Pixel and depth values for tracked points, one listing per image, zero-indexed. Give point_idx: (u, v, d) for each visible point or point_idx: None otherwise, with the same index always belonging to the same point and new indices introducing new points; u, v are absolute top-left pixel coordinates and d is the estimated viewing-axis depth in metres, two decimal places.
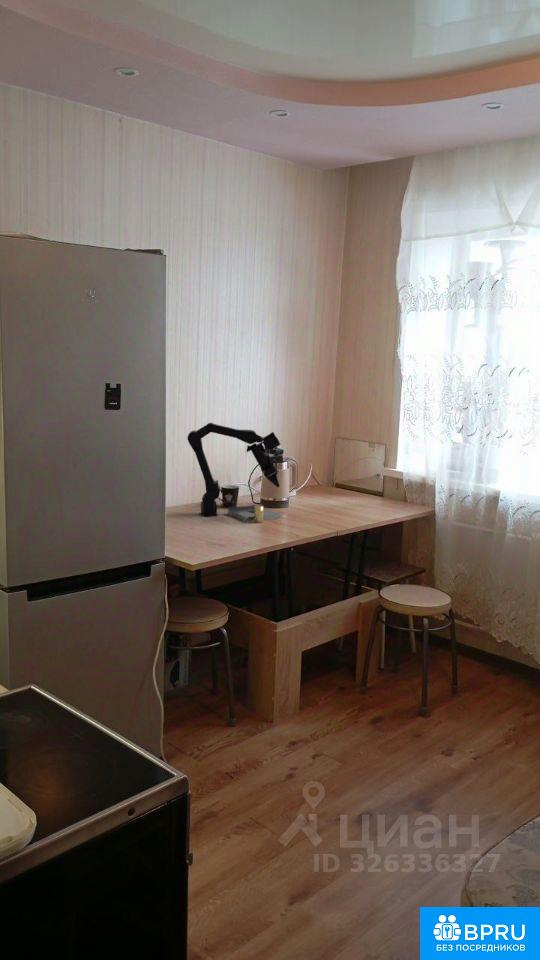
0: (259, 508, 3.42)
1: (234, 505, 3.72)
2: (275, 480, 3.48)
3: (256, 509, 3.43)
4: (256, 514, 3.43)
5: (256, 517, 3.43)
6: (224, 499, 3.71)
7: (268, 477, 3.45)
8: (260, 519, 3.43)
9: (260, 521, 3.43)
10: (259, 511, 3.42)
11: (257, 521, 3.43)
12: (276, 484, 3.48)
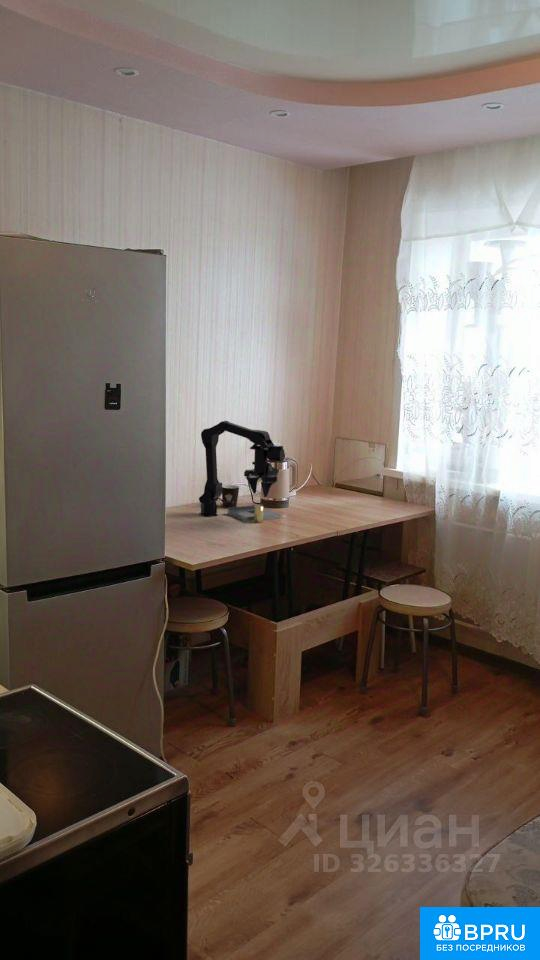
0: (259, 508, 3.42)
1: (234, 505, 3.72)
2: (267, 489, 3.38)
3: (256, 509, 3.43)
4: (256, 514, 3.43)
5: (256, 517, 3.43)
6: (224, 499, 3.71)
7: (266, 483, 3.34)
8: (260, 519, 3.43)
9: (260, 521, 3.43)
10: (259, 511, 3.42)
11: (257, 521, 3.43)
12: (265, 493, 3.39)
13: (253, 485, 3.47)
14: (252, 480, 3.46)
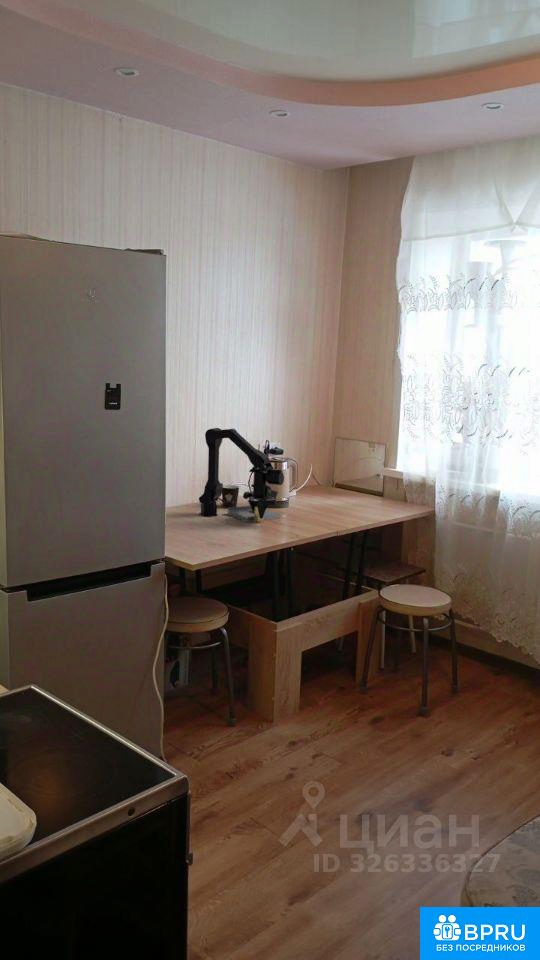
0: None
1: (234, 505, 3.72)
2: (263, 511, 3.42)
3: (256, 509, 3.43)
4: (256, 514, 3.43)
5: (256, 517, 3.43)
6: (224, 499, 3.71)
7: (262, 505, 3.38)
8: (260, 519, 3.43)
9: (260, 521, 3.43)
10: None
11: (257, 521, 3.43)
12: (261, 515, 3.42)
13: None
14: (254, 503, 3.45)
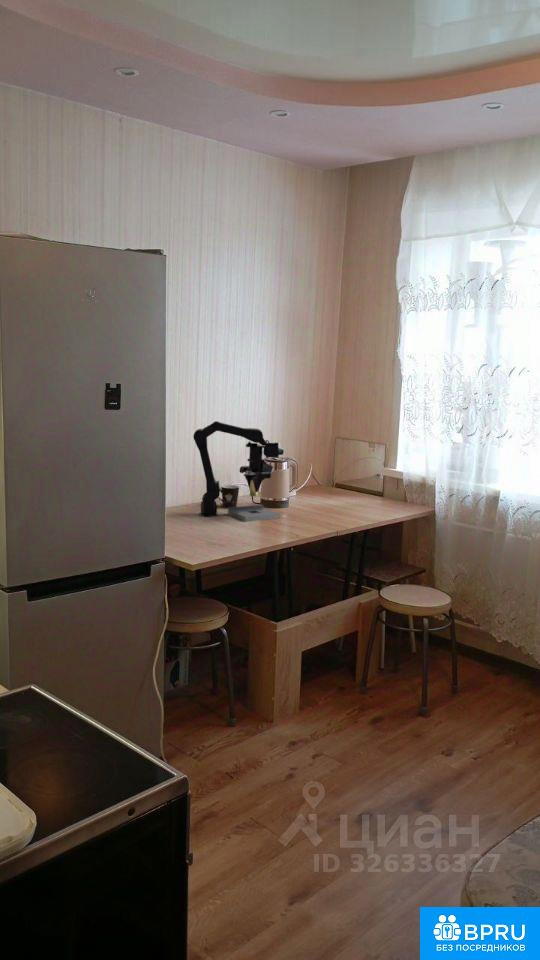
0: None
1: (234, 505, 3.72)
2: (258, 484, 3.51)
3: (252, 482, 3.52)
4: (252, 487, 3.52)
5: (251, 490, 3.52)
6: (224, 499, 3.71)
7: (257, 479, 3.47)
8: (256, 492, 3.53)
9: (256, 494, 3.53)
10: None
11: (253, 494, 3.53)
12: (257, 488, 3.51)
13: None
14: (250, 477, 3.55)
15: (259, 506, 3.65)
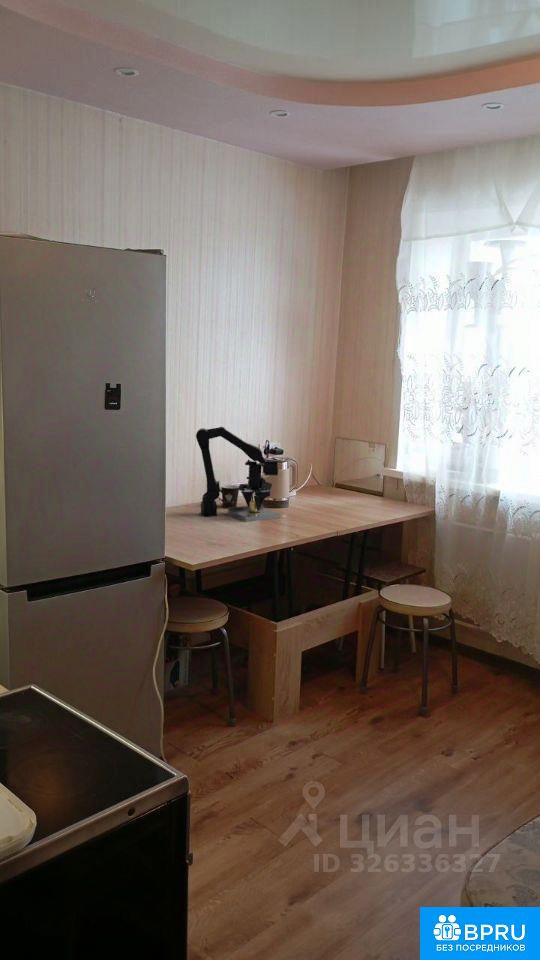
0: (254, 503, 3.53)
1: (234, 505, 3.72)
2: (260, 503, 3.51)
3: (251, 504, 3.54)
4: (251, 508, 3.54)
5: (251, 511, 3.54)
6: (224, 499, 3.71)
7: (259, 497, 3.47)
8: None
9: None
10: (254, 505, 3.54)
11: None
12: (258, 507, 3.52)
13: (248, 499, 3.59)
14: (247, 494, 3.58)
15: None
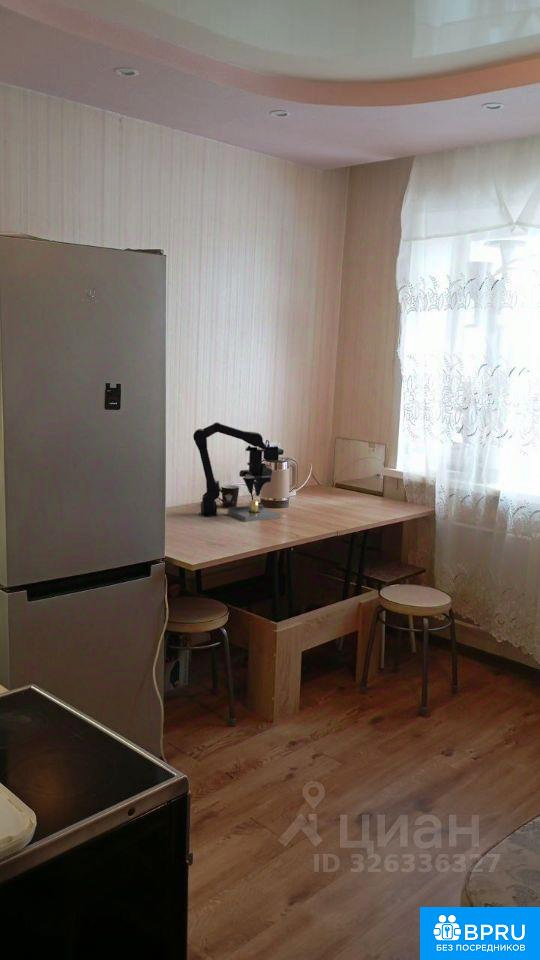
0: (254, 503, 3.53)
1: (234, 505, 3.72)
2: (259, 488, 3.51)
3: (251, 504, 3.54)
4: (251, 508, 3.54)
5: (251, 511, 3.54)
6: (224, 499, 3.71)
7: (258, 483, 3.47)
8: None
9: None
10: (254, 505, 3.54)
11: None
12: (257, 492, 3.51)
13: (250, 485, 3.57)
14: (249, 481, 3.56)
15: (259, 506, 3.65)
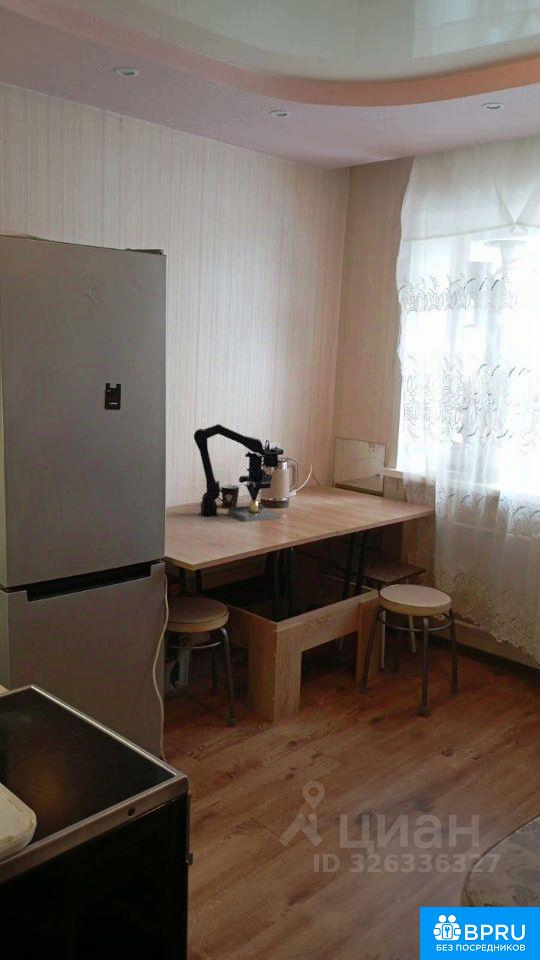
0: (254, 503, 3.53)
1: (234, 505, 3.72)
2: (256, 493, 3.54)
3: (251, 504, 3.54)
4: (251, 508, 3.54)
5: (251, 511, 3.54)
6: (224, 499, 3.71)
7: (254, 488, 3.50)
8: None
9: None
10: (254, 505, 3.54)
11: None
12: (254, 497, 3.54)
13: None
14: None
15: (259, 506, 3.65)
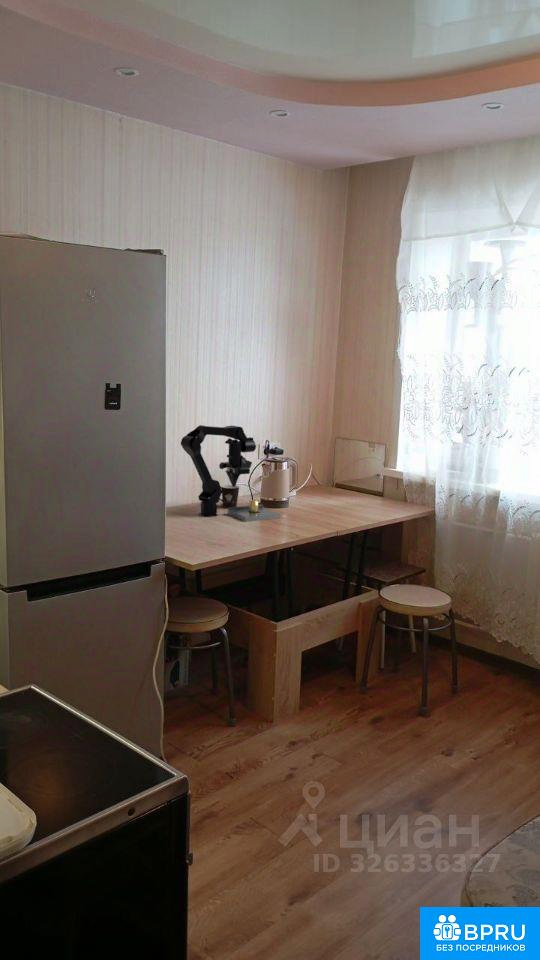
0: (254, 503, 3.53)
1: (234, 505, 3.72)
2: (235, 479, 3.61)
3: (251, 504, 3.54)
4: (251, 508, 3.54)
5: (251, 511, 3.54)
6: (224, 499, 3.71)
7: (234, 473, 3.57)
8: None
9: None
10: (254, 505, 3.54)
11: None
12: (234, 483, 3.61)
13: None
14: None
15: (259, 506, 3.65)
